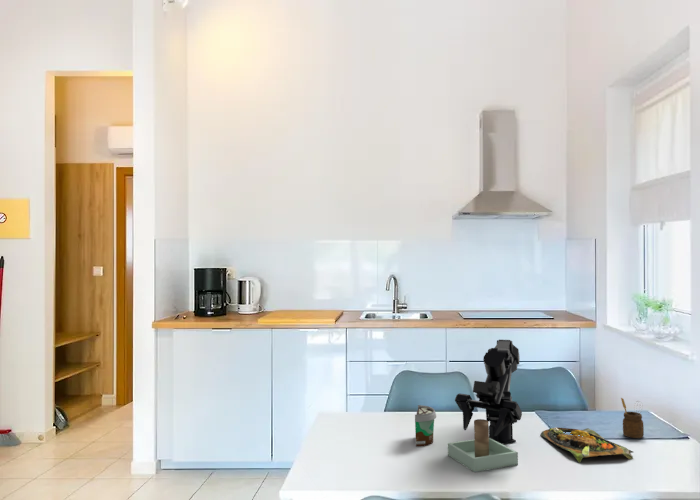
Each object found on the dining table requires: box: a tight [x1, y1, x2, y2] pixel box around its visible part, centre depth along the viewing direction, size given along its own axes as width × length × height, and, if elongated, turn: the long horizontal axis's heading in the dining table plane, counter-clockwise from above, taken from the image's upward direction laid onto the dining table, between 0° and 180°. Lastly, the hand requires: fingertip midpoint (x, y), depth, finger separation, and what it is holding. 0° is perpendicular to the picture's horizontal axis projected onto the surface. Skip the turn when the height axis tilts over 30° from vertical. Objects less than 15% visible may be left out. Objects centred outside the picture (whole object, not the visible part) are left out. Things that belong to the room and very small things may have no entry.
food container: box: [414, 404, 437, 448], centre depth 174 cm, size 12×6×10 cm, turn 168°
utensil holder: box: [620, 397, 645, 439], centre depth 176 cm, size 6×6×12 cm
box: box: [447, 438, 519, 473], centre depth 157 cm, size 14×14×4 cm
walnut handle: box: [473, 418, 490, 458], centre depth 157 cm, size 4×4×10 cm
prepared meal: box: [540, 427, 634, 464], centre depth 168 cm, size 28×4×18 cm
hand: (479, 432), depth 156 cm, fingers open, 9 cm apart
